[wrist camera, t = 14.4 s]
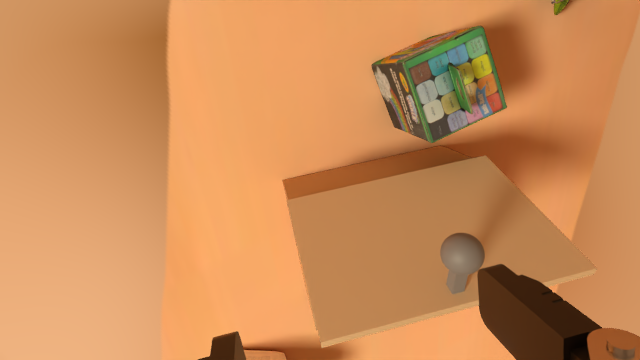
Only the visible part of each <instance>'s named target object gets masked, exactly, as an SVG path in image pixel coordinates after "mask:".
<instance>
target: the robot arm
mask: <svg viewBox="0 0 640 360" xmlns="http://www.w3.org/2000/svg"><path fill="white" fill-rule="evenodd" d="M477 278H478V295H479V310H480V314H481V317H482V319H483V321H484V323H485V325H486V326H487V328H488V329H489V330H490V331H491V332H492V333H493V334H494V335H495V337H496V338H497V339H498V340H499V341H500V342H501V343H502V344H503V345H504V346H505V348H506V349H507V350H508V351H509V352H510V353H511V354H512V355H513V356H514V357H515V359H516V360H640V337H639V336H637V335H635V334H633V333H630V332H628V331H624V330H620V329H614V328H602V327H600V326H599V325H598V324H596V323H595V322H594V321H592V320H591V319H589V318H588V317H587V316H586V315H584V314H582V313H581V312H580V311H579V310H577V309H576V308H575V307H573V306H572V305H571V304H569V303H568V302H567V301H563V299H562V298H561V297H560V296H558V295H557V294H556V293H553V292H552V290H550V289H549V288H548V287H546V286H545V285H544V284H542V283H541V282H540V281H537V280H535V279H532V278H530V277H527V276H525V275H517V274H515V273H514V272H513V271H512V270H510V269H509V268H508V267H506V266H505V265H503V264H498V265H494V266H490V267H486V268H482V269H479V270H478V274H477ZM198 360H246V356H245V353H244V349H243V346H242V342H241V339H240V336H239V333H238V332H233V333H229V334H225V335H221V336H217V337H214V338H213V340H212V347H211V354H210V356H209V357H205V358H202V359H198Z"/></svg>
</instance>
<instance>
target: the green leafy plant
mask: <svg viewBox="0 0 640 360" xmlns="http://www.w3.org/2000/svg"><path fill="white" fill-rule="evenodd" d="M552 1H554V2H552V4H553V3H555V4H554V14H555V15H557V14H559V13H560V12H561V11H562V10H563V8H564V7H565V6H566V5H567V3H568V2H569V0H552Z"/></svg>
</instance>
